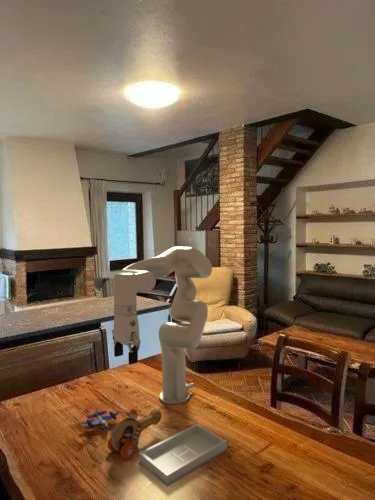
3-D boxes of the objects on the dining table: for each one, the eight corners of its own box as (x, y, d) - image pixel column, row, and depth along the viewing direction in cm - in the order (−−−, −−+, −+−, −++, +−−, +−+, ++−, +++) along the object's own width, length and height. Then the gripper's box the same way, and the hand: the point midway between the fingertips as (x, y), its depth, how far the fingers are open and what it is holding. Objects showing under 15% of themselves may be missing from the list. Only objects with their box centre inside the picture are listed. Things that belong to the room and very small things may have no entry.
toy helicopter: (104, 454, 119) (102, 412, 118) (151, 426, 135) (150, 388, 133) (121, 464, 114) (119, 421, 112) (168, 434, 129) (167, 395, 128)
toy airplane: (112, 440, 126) (112, 430, 126) (75, 435, 130) (75, 425, 129) (128, 420, 139) (128, 411, 138) (94, 416, 142) (94, 407, 142)
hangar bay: (197, 431, 130) (197, 423, 130) (227, 449, 120) (226, 440, 119) (139, 462, 115) (138, 452, 114) (167, 486, 104) (167, 475, 104)
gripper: (148, 312, 122) (149, 364, 123) (122, 304, 136) (122, 351, 136) (128, 315, 117) (129, 369, 118) (103, 306, 131) (103, 355, 132)
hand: (125, 359), depth 127 cm, fingers open, 9 cm apart
